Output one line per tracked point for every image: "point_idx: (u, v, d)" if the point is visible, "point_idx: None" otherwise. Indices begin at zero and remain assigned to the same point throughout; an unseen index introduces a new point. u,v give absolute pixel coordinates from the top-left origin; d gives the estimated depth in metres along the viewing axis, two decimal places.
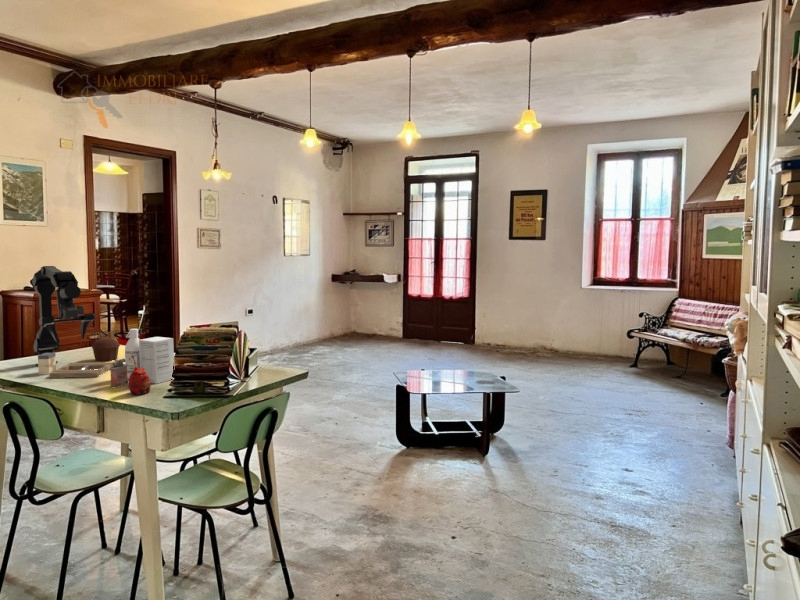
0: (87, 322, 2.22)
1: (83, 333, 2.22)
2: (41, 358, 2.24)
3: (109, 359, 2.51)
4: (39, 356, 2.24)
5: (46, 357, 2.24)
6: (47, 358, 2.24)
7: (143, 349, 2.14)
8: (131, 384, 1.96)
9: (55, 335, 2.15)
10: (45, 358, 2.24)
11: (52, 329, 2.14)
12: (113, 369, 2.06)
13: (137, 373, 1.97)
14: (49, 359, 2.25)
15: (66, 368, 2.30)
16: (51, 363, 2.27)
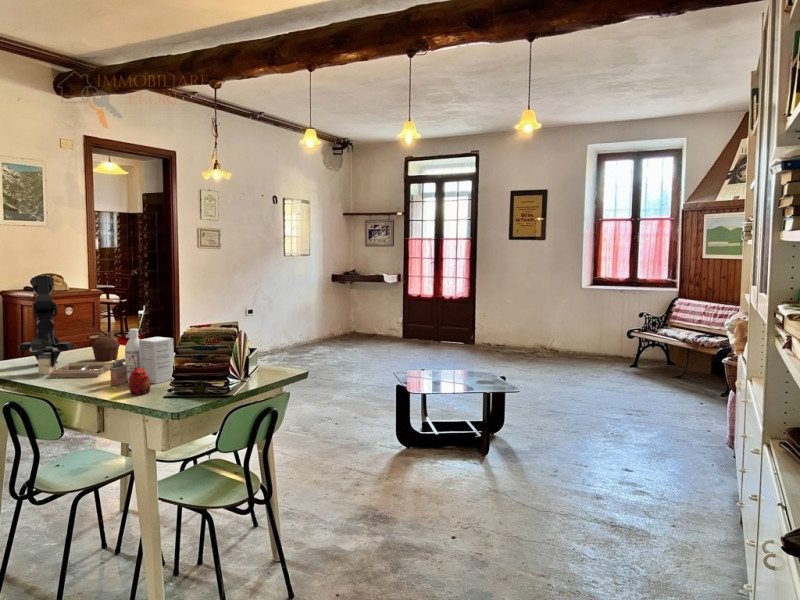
0: (53, 352, 2.25)
1: (52, 362, 2.27)
2: (41, 358, 2.24)
3: (109, 359, 2.51)
4: (39, 356, 2.24)
5: (46, 357, 2.24)
6: (47, 358, 2.24)
7: (143, 349, 2.14)
8: (131, 384, 1.96)
9: None
10: (45, 358, 2.24)
11: (35, 356, 2.25)
12: (113, 369, 2.06)
13: (137, 373, 1.97)
14: (49, 359, 2.25)
15: (66, 368, 2.30)
16: (51, 363, 2.27)
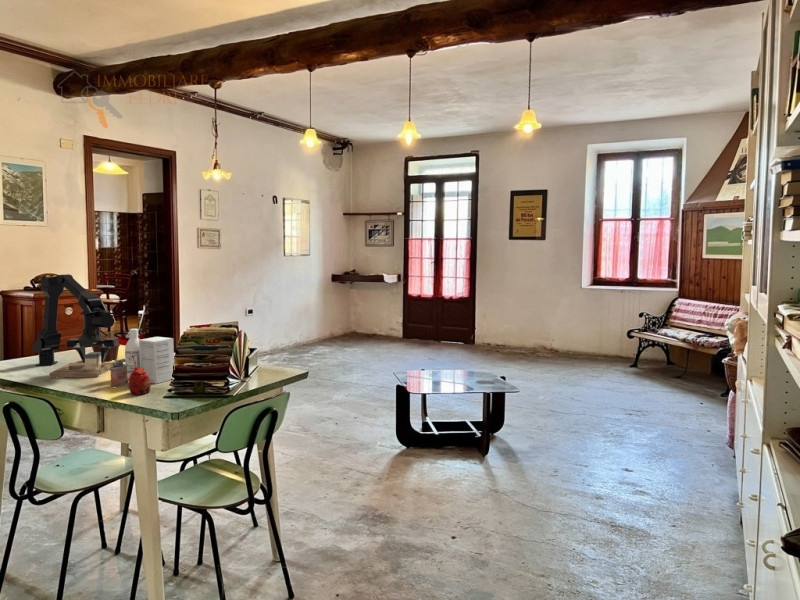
0: (103, 348, 2.27)
1: (102, 357, 2.29)
2: (88, 357, 2.26)
3: (109, 359, 2.51)
4: (86, 355, 2.26)
5: (92, 356, 2.27)
6: (94, 357, 2.27)
7: (143, 349, 2.14)
8: (131, 384, 1.96)
9: (81, 357, 2.28)
10: (92, 357, 2.27)
11: (78, 351, 2.27)
12: (113, 369, 2.06)
13: (137, 373, 1.97)
14: (96, 358, 2.28)
15: (66, 368, 2.30)
16: (97, 363, 2.29)
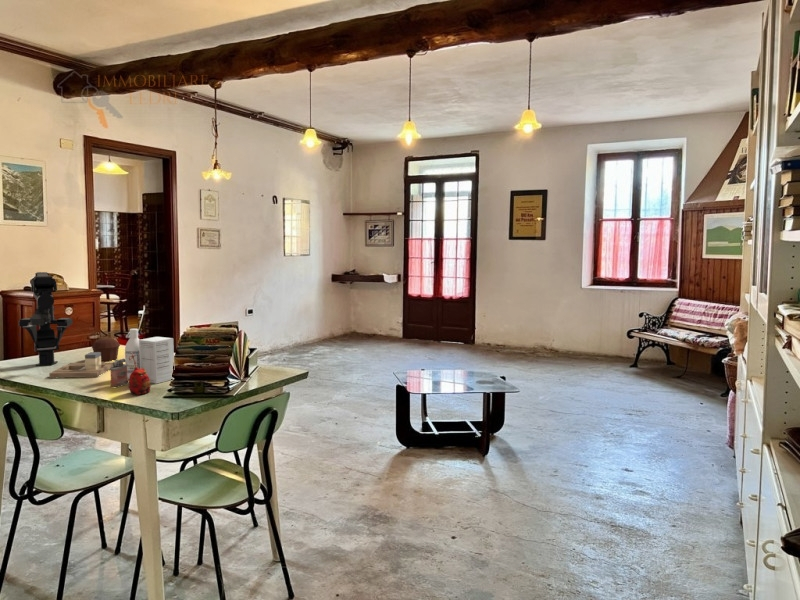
0: (59, 328, 2.29)
1: (58, 337, 2.31)
2: (88, 357, 2.26)
3: (109, 359, 2.51)
4: (86, 355, 2.26)
5: (92, 356, 2.27)
6: (94, 357, 2.27)
7: (143, 349, 2.14)
8: (131, 384, 1.96)
9: (32, 336, 2.29)
10: (92, 357, 2.27)
11: (29, 331, 2.28)
12: (113, 369, 2.06)
13: (137, 373, 1.97)
14: (96, 358, 2.28)
15: (66, 368, 2.30)
16: (97, 363, 2.29)
